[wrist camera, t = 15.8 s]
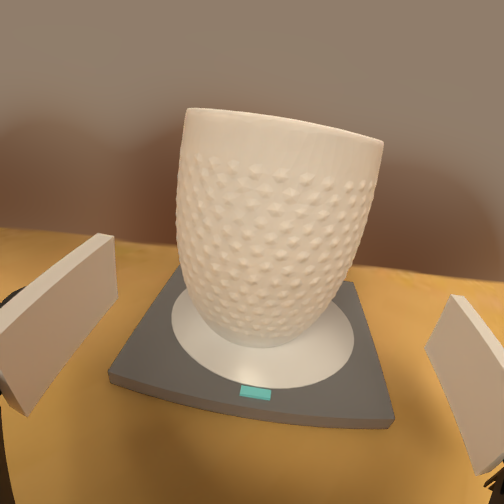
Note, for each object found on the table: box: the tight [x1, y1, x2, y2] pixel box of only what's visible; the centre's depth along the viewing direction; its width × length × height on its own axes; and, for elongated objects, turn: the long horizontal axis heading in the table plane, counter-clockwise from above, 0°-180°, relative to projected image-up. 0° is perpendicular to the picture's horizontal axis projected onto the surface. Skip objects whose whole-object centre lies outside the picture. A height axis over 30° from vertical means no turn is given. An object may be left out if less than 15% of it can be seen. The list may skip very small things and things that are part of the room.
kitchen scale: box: [108, 264, 395, 429], centre depth 22 cm, size 16×16×1 cm
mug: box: [176, 108, 384, 348], centre depth 20 cm, size 15×11×13 cm
